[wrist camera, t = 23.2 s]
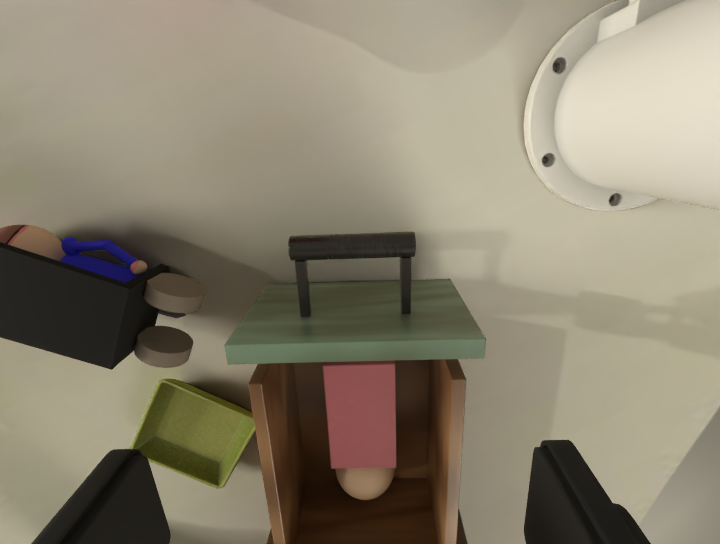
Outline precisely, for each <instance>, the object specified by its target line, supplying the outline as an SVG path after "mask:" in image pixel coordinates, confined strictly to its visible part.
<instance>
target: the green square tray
mask: <svg viewBox="0 0 720 544" xmlns="http://www.w3.org/2000/svg"><path fill="white" fill-rule="evenodd" d="M254 433H255V425H254V419H253V413H251V412H250V411H248V410H246V409H244V408H242V407H239V406H237V405H235V404H232V403H230V402H228V401H225V400H223V399H221V398H219V397H216V396H214V395H212V394H209V393H207V392H205V391H203V390H200V389H198V388H196V387H193V386H191V385H189V384H187V383H184V382H182V381H179V380H175V379H161V380H160V381H159V382H158V384H157V386H156V389H155V391H154V393H153V396H152V398H151V400H150V403H149V405H148V408H147V410H146V412H145V415H144V417H143V419H142V422H141V424H140V426H139V429H138V431H137V433H136V436H135V437H134V440H133V442H132V444H131V447H130V449H138V450H140V451H141V453H142V455H145V456H146V457H147V459H148V461H150V462H153V463H155V464H158V465H161V466H163V467H166V468H168V469H170V470H173V471H175V472H178V473H180V474H183V475H185V476H188V477H190V478H192V479H195V480H197V481H200V482H202V483H205V484H207V485H210V486H212V487H215V488H222V487H224V486H225V484H226V482H227V481H228V479H229V477H230V475H231V473H232V472H233V470H234V468H235V466H236V464H237V463H238V461H239V459H240V457H241V455H242V454H243V452H244V450H245V448H246V447H247V445H248V443H249V441H250V440H251V438H252V436H253V434H254Z"/></svg>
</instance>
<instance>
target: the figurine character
mask: <svg viewBox="0 0 720 544" xmlns="http://www.w3.org/2000/svg"><path fill="white" fill-rule="evenodd" d="M91 250H106V251H108V252H109V253H111V254H112V255H114V256H115V257H116V258H118V259H119V260H121V261H122V262H124V263H125V264H126V265H128V266H129V267H130V268H129V267H125V266H121V265H118V264H114V263H111V262H107V261H104V260H100V259H97V258H93V257H90V256H86V255H83V254H79V253H80V251H91ZM169 269H170V267H169V266H166V265H163V264H161V265H159V266H157V267H155V268H153V269H151V270H149V271H147V264H146V263H145V262H144V261H141V260H137V259H135V258H134V257H133V256H131V255H130V254H128V253H127V252H126V251H124V250H123V249H121V248H120V247H119V246H117V245H116V244H114V243H113V242H112V241H110V240H98V241H80V242H78V241H77V240H76V239H75V238H73V237H66V238H64V239H63V241H62V242H61V241H60V240H59V239H58V238H57V237H56V236H55V235H53V234H52V233H50V232H49V231H47V230H44V229H42V228H39V227H35V226H30V225H12V226H7V227H3V228H1V229H0V337H1V338H5V339H8V340H12V341H15V342H19V343H22V344H26V345H29V346H32V347H36V348H39V349H43V350H46V351H50V352H53V353H57V354H60V355H63V356H67V357H70V358H74V359H77V360H81V361H84V362H88V363H91V364H94V365H98V366H101V367H105V368H108V369H113V368H114V367H115V366H116V365H117V364H118V363H119V362H121V361H122V360H123V359H124V358H126V357H127V356H128V355H129V354H130V353H132V352H133V351H134V352H135V355H136V356H137V358H138V359H139V360H141V361H142V362H144V363H146V364H149V365H152V366H156V367H164V368H169V367H176V366H180V365H182V364H184V363H186V362H187V361H188V359H189V356H190V353H191V349H192V346H193V340H192V338H191V337H190V336H189V335H188V334H187V333H185V332H183V331H181V330H179V329H176V328H172V327H167V326H155V324H156V320H157V316H158V313H159V314H163V315H166V316H170V317H174V318H180V317H183V316H185V315H186V314H185V313H189V312H194V311H196V310H198V309H199V308H200V306H201V303H202V299H203V296H204V292H205V289H204V287H203V286H202V285H201V284H200V283H199V282H197V281H195V280H193V279H191V278H189V277H186V276H182V275H178V274H173V273H169ZM146 271H147V272H146Z"/></svg>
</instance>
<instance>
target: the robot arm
mask: <svg viewBox="0 0 720 544" xmlns="http://www.w3.org/2000/svg"><path fill="white" fill-rule="evenodd" d="M553 64H555V65H556V66H557V69H556V71H555V72H554V71H553ZM523 128H524V139H525V147H526V150H527V153H528V157H529V160H530V163H531V165H532V167H533V169H534V170H535V172H536V174H537V176H538V178H539V179H540V180H541V181H542V182H543V183H544V184H545V186H546V187H547V188H548V189H549V190H550V191H552V192H553V193H554V194H556V195H557V196H558V197H560V198H561V199H563V200H565V201H568V202H570V203H572V204H574V205H577V206H580V207H584V208H588V209H591V210H600V211H619V210H628V209H632V208H635V207H639V206H643V205H646V204H648V203H650V202H653V201H655V200H657V199H659V198H661V199H666V200H671V201H676V202H682V203H687V204H692V205H697V206H702V207H708V208H713V209H718V210H720V0H617V1H615V2H612V3H610V4H608V5H605V6H603V7H601V8H600V9H598V10H596V11H595V12H593V13H591V14H590V15H588V16H586V17H585V18H584V19H582V20H581V21H580V22H578V23H577V24H576V25H575V26H573V27H572V28H571V29H570V30H568V31H567V32H566V33H565V34H564V36H563V37H562V38H561V39H560V40H559V41H558V42H557V43H556V44H555V45H554V46H553V47H552V49H551V50H550V52H549V53H548V55H547V56H546V58H545V59H544V61H543V62H542V64H541V65H540V67H539V69H538V72H537V74H536V76H535V78H534V80H533V83H532V85H531V87H530V91H529V95H528V98H527V102H526V106H525V115H524V125H523ZM543 156H545V157H546V161H545V162H544V163H542V159H543ZM610 196H611V198H610ZM609 199H610V200H609ZM524 535H525V540H526V544H651V543H650V542H649V541H648V539H647V538H646V536H645V535H644V533H643V532H642V530H641V529H640V528H639V526H638V525H637V523H636V522H635V520H634V519H633V517H632V516H631V515H630V514H629V513H628V511H627V510H626V509H625V508H624V507H622V506H621V505H619V504H615V503H614V504H613V503H612V501H611V500H610V498H609V497H608V495H607V494H606V492H605V491H604V489H603V488H602V486H601V485H600V483H599V482H598V480H597V479H596V477H595V476H594V474H593V473H592V471H591V470H590V468H589V467H588V465H587V464H586V462H585V461H584V459H583V458H582V456H581V455H580V453H579V452H578V450H577V449H576V447H575V446H574V444H573V443H572V442H571V441H569V440H545V441H542V442H541V446H540V447H535V449H534V452H533V460H532V468H531V476H530V484H529V492H528V500H527V508H526V516H525V525H524ZM169 543H170V530H169V526H168V523H167V520H166V517H165V513H164V510H163V507H162V504H161V501H160V497H159V494H158V491H157V488H156V484H155V481H154V478H153V475H152V471H151V468H150V465H149V462H148V459H147V457H146V456H145V455H142V453H141V451H140V450H138V449H118V450H112V451H110V452H109V453H108V454H107V455H106V456H105V457H104V458H103V459H102V461H101V462H100V463H99V464H98V465H97V466H96V468H95V469H94V470H93V471H92V472H91V474H90V475H89V476H88V477H87V478H86V480H85V481H84V482H83V483H82V484H81V485H80V487H79V488H78V489H77V490H76V491H75V493H74V494H73V495H72V496H71V497H70V498H69V500H68V501H67V502H66V503H65V504H64V506H63V507H62V508H61V509H60V510H59V512H58V513H57V514H56V515H55V516H54V517H53V519H52V520H51V521H50V522H49V523H48V525H47V526H46V527H45V528H44V529H43V531H42V532H41V533H40V534H39V535H38V536H37V538H36V539H35V540H34V541H33V542H32V544H169Z"/></svg>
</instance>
